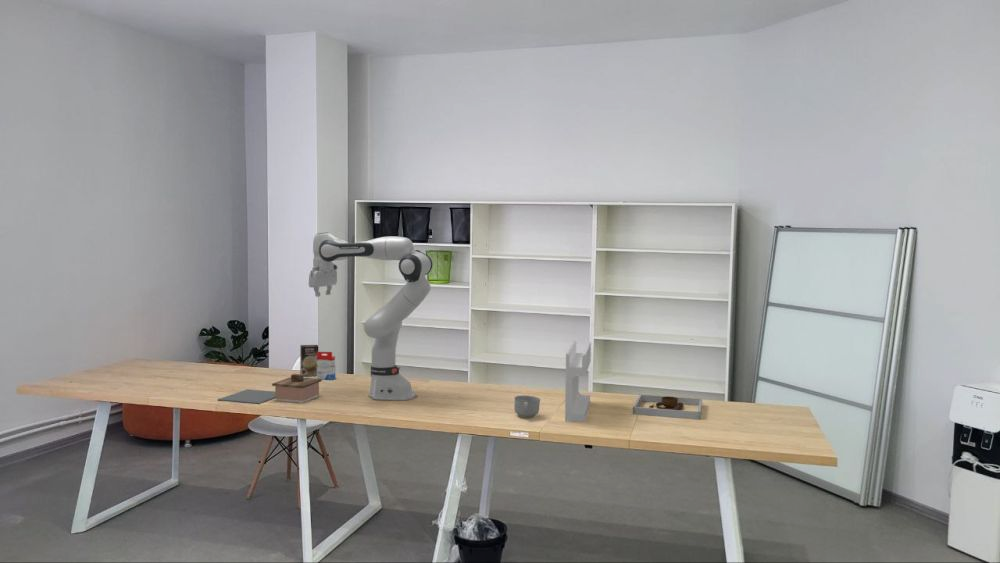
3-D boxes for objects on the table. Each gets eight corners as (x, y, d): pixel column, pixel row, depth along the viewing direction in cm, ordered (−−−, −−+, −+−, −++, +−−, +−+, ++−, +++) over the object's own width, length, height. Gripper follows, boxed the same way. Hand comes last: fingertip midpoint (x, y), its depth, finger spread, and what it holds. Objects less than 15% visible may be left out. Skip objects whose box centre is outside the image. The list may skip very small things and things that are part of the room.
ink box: (335, 378, 389) (335, 350, 388) (332, 380, 384) (332, 352, 383) (319, 377, 390) (319, 350, 389) (316, 379, 385) (316, 351, 384)
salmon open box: (318, 396, 348) (318, 381, 348) (302, 402, 335) (302, 387, 334) (292, 394, 352) (292, 379, 352) (275, 400, 339) (275, 385, 338)
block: (572, 401, 340) (573, 341, 338) (589, 402, 339) (590, 341, 337) (565, 421, 306) (565, 354, 304) (584, 422, 304) (585, 354, 302)
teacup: (518, 412, 321) (518, 393, 320) (542, 414, 318) (542, 395, 317) (509, 420, 307) (509, 401, 307) (534, 422, 304) (534, 403, 304)
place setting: (692, 408, 332) (692, 395, 332) (683, 418, 314) (684, 404, 313) (653, 403, 339) (653, 391, 339) (642, 413, 321) (643, 400, 321)
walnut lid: (321, 381, 348) (321, 372, 348) (303, 388, 333) (303, 379, 333) (291, 378, 353) (291, 370, 353) (272, 385, 338) (272, 377, 337)
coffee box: (300, 377, 391) (300, 346, 390) (300, 374, 397) (299, 345, 396) (318, 376, 394) (318, 346, 393) (317, 373, 400) (317, 344, 399)
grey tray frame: (702, 405, 335) (702, 398, 335) (700, 419, 310) (700, 412, 310) (639, 400, 343) (639, 394, 343) (632, 414, 318) (632, 407, 318)
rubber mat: (287, 393, 353) (287, 392, 353) (259, 404, 332) (259, 402, 332) (247, 390, 359) (247, 389, 359) (217, 400, 338) (217, 399, 338)
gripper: (317, 268, 343) (317, 297, 344) (339, 265, 362) (339, 294, 364) (305, 267, 345) (305, 297, 346) (327, 265, 364) (328, 293, 365)
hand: (323, 295), depth 355 cm, fingers open, 8 cm apart
